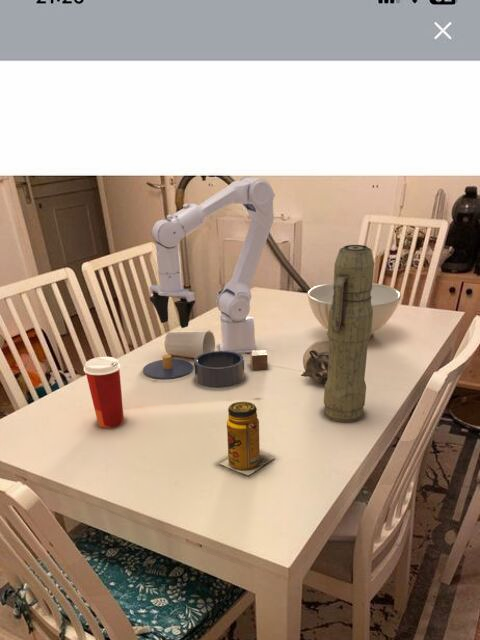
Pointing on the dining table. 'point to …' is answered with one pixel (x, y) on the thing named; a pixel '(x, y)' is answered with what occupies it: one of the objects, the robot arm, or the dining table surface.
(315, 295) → the decorative bowl
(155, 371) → the lid
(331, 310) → the thermos
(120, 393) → the paper cup
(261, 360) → the block
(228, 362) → the tin
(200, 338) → the cup
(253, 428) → the condiment
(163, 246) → the robot arm
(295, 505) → the dining table surface
